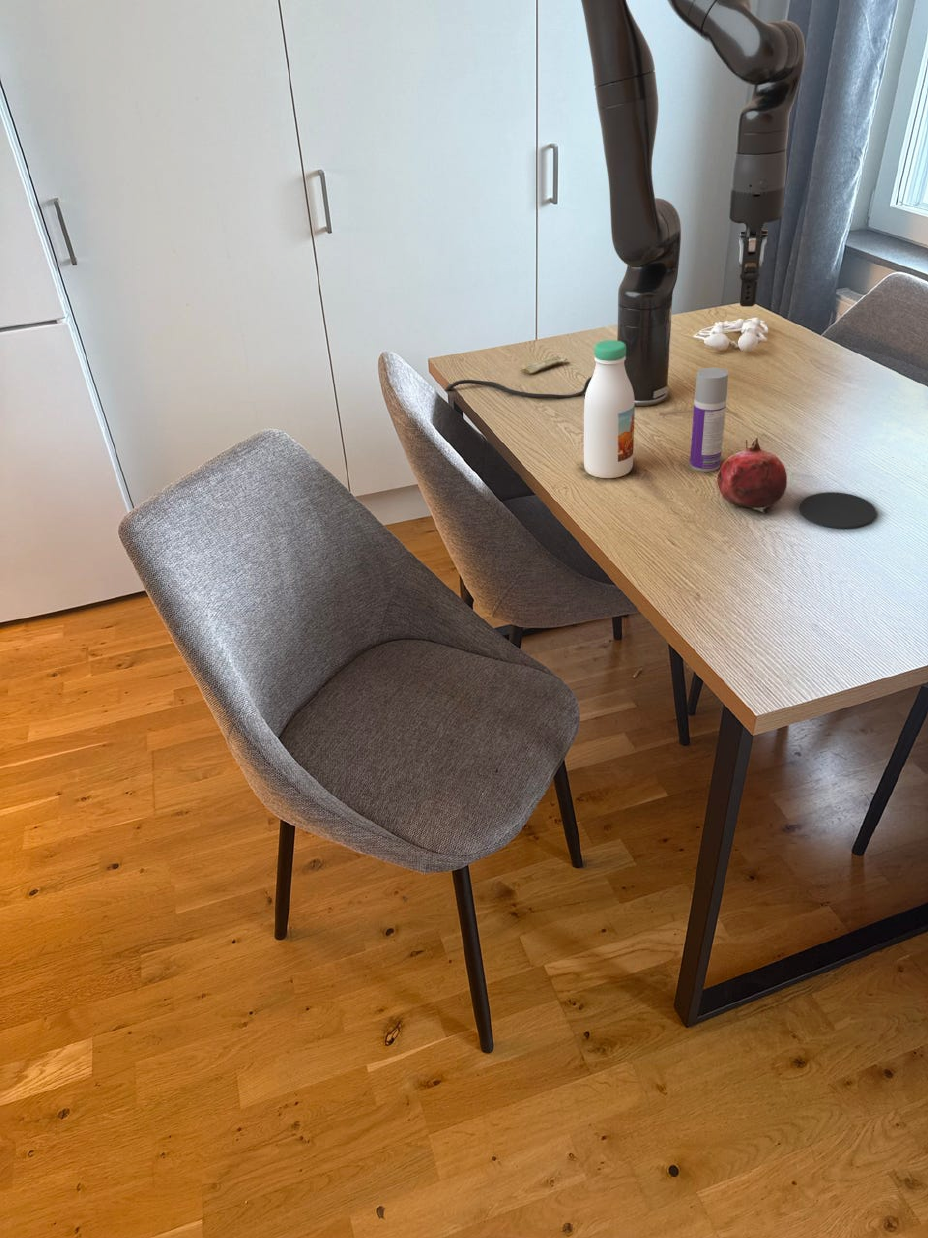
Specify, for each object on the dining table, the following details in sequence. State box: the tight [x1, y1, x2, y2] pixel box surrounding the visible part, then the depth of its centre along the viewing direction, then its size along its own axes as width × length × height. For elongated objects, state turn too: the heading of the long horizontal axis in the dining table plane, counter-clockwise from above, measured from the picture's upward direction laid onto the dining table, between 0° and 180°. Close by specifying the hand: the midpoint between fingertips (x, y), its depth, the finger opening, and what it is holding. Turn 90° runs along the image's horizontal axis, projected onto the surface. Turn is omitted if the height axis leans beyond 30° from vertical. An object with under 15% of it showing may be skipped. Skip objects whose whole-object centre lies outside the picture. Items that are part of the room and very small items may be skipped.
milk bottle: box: [583, 339, 636, 479], centre depth 138 cm, size 8×8×20 cm
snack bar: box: [521, 355, 568, 374], centre depth 183 cm, size 10×2×3 cm
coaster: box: [799, 491, 877, 530], centre depth 128 cm, size 10×10×1 cm
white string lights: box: [693, 317, 769, 353], centre depth 187 cm, size 19×14×4 cm
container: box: [689, 367, 729, 473], centre depth 138 cm, size 5×5×15 cm
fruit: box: [716, 437, 788, 514], centre depth 129 cm, size 9×10×10 cm
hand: (748, 297), depth 142 cm, fingers open, 8 cm apart
